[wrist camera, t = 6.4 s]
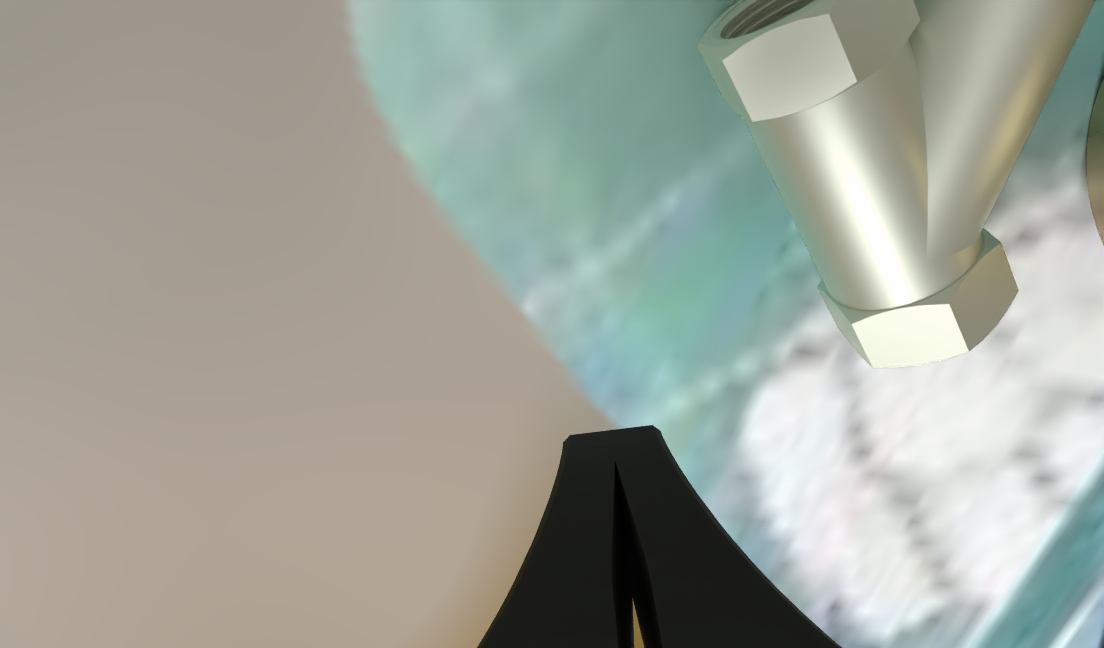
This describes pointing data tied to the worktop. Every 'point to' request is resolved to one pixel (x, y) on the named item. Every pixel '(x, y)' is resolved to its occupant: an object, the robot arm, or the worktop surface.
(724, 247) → the worktop surface
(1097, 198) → the grey block with discs
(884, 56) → the pipe fitting
